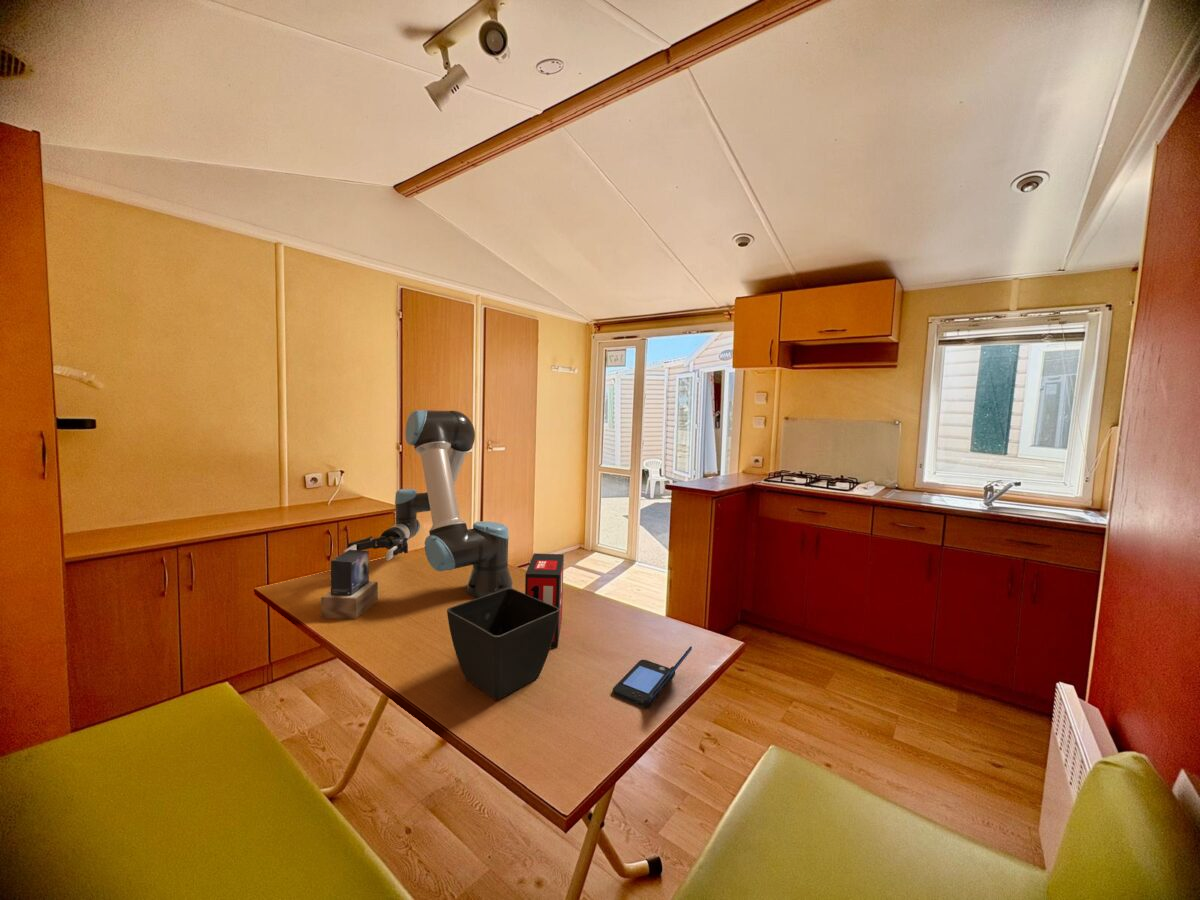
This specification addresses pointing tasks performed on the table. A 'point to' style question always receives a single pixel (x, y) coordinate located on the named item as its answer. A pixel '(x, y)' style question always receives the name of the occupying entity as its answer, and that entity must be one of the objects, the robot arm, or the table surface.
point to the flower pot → (502, 639)
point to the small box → (349, 572)
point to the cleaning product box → (547, 583)
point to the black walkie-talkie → (645, 682)
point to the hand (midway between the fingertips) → (366, 555)
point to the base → (349, 603)
